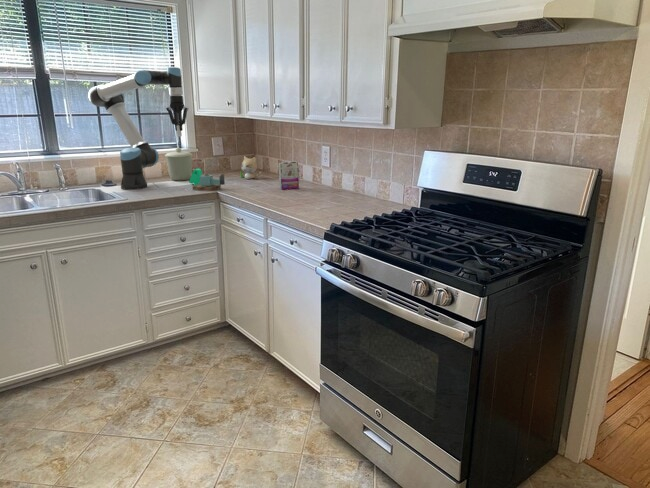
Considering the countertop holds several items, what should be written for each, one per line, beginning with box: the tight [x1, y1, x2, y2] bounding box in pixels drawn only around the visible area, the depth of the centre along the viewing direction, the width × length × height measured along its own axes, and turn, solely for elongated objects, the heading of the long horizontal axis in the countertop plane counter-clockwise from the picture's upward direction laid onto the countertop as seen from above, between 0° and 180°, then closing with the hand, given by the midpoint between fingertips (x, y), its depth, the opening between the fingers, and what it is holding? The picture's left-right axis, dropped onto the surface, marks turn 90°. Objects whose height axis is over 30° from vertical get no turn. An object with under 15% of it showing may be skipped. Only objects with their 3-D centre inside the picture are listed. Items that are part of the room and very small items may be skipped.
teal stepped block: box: [200, 173, 226, 186], centre depth 290 cm, size 6×14×6 cm, turn 85°
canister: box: [164, 147, 194, 182], centre depth 319 cm, size 18×18×21 cm
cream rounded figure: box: [239, 155, 262, 180], centre depth 325 cm, size 15×10×15 cm
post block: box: [192, 171, 222, 192], centre depth 291 cm, size 14×10×10 cm
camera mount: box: [188, 168, 203, 186], centre depth 305 cm, size 12×8×10 cm, turn 59°
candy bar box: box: [278, 160, 300, 191], centre depth 292 cm, size 11×5×16 cm, turn 112°
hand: (179, 136), depth 290 cm, fingers closed
